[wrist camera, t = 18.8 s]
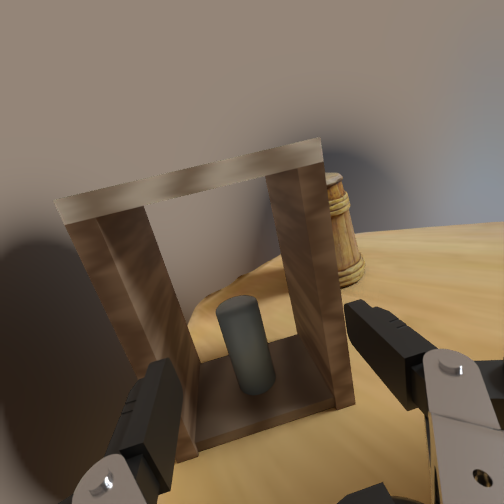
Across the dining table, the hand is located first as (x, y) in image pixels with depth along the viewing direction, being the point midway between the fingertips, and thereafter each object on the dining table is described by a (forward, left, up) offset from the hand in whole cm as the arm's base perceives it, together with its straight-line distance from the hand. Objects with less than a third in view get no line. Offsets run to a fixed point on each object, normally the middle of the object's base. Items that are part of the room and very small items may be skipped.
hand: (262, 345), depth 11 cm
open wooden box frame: (-5, -19, -22) cm, 29 cm away
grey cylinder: (-5, -19, -20) cm, 28 cm away
